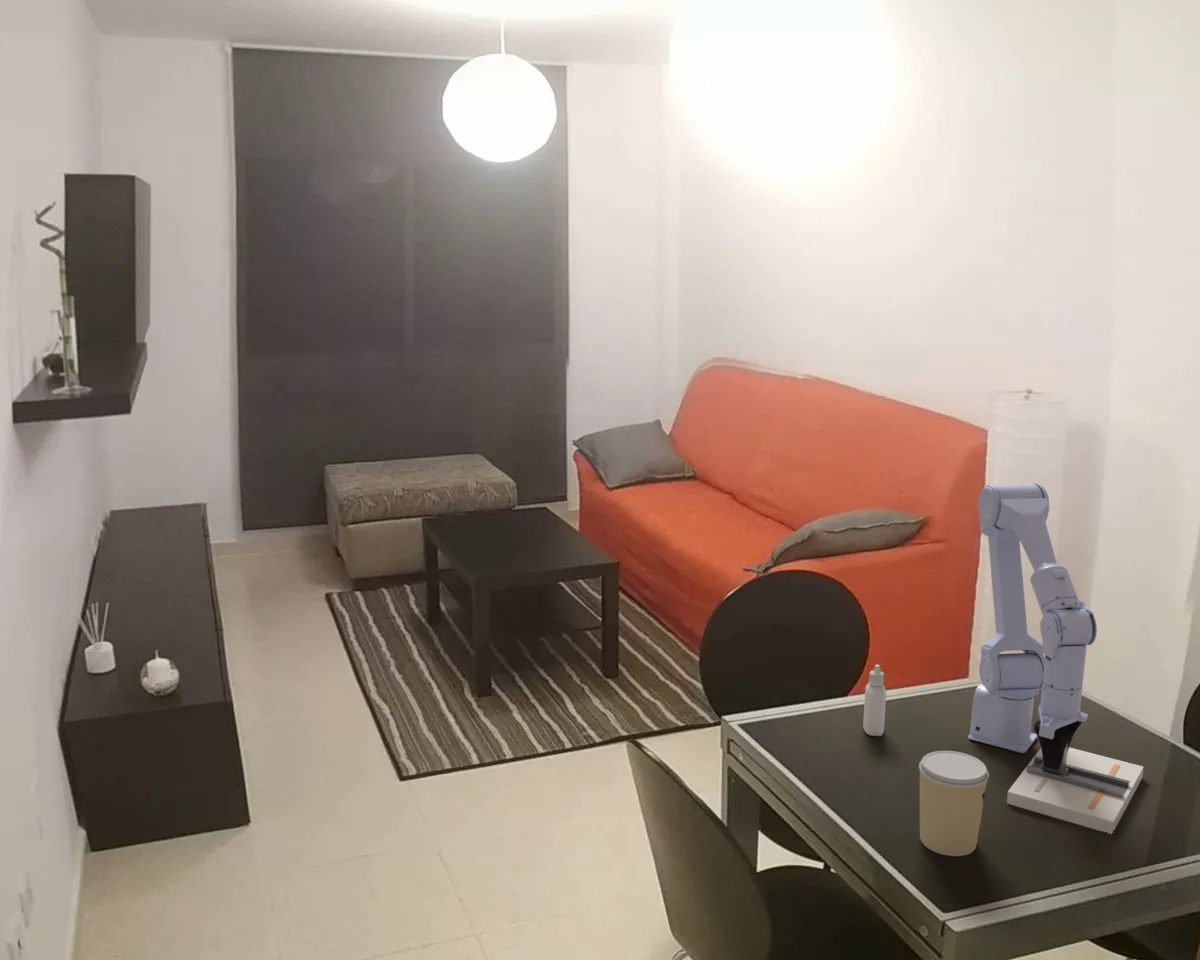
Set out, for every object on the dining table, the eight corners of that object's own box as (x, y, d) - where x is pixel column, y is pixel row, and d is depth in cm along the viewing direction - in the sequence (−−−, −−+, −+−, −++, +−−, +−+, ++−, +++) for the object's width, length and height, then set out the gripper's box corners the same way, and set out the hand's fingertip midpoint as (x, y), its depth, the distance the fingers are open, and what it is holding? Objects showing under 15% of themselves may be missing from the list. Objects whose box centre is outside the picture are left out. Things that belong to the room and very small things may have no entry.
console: (1006, 803, 171) (1008, 786, 171) (1044, 752, 188) (1046, 736, 187) (1112, 834, 163) (1114, 816, 162) (1142, 778, 179) (1144, 762, 178)
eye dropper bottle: (891, 727, 197) (895, 663, 194) (879, 739, 192) (883, 673, 190) (867, 721, 199) (871, 657, 197) (855, 732, 195) (858, 667, 192)
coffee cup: (996, 853, 157) (1003, 775, 155) (937, 864, 155) (943, 784, 152) (957, 820, 166) (963, 745, 164) (901, 830, 164) (906, 754, 161)
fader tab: (1037, 771, 177) (1041, 737, 176) (1042, 765, 179) (1045, 731, 178) (1064, 778, 175) (1068, 744, 173) (1068, 772, 177) (1072, 738, 175)
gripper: (1077, 705, 165) (1068, 789, 168) (1101, 674, 177) (1092, 753, 180) (1028, 693, 169) (1020, 776, 172) (1054, 664, 181) (1046, 742, 184)
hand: (1054, 764), depth 176 cm, fingers closed on fader tab, 2 cm apart
